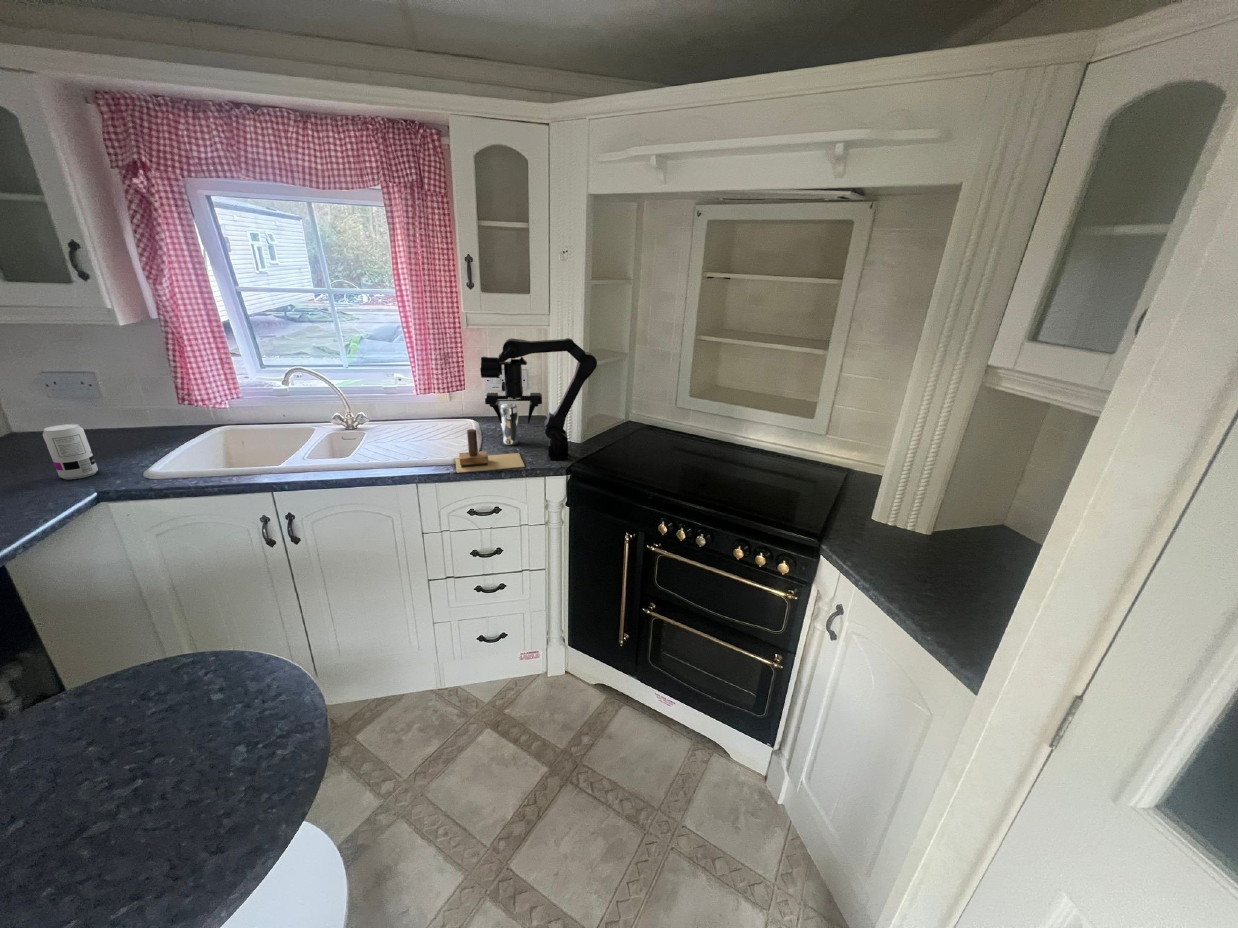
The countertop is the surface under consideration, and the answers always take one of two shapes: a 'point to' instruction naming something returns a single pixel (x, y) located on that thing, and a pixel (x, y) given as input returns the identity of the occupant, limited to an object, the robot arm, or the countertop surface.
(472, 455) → the wooden rubber stamp
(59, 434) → the supplement can
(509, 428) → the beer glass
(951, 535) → the countertop surface
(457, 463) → the cork mat
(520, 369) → the robot arm
